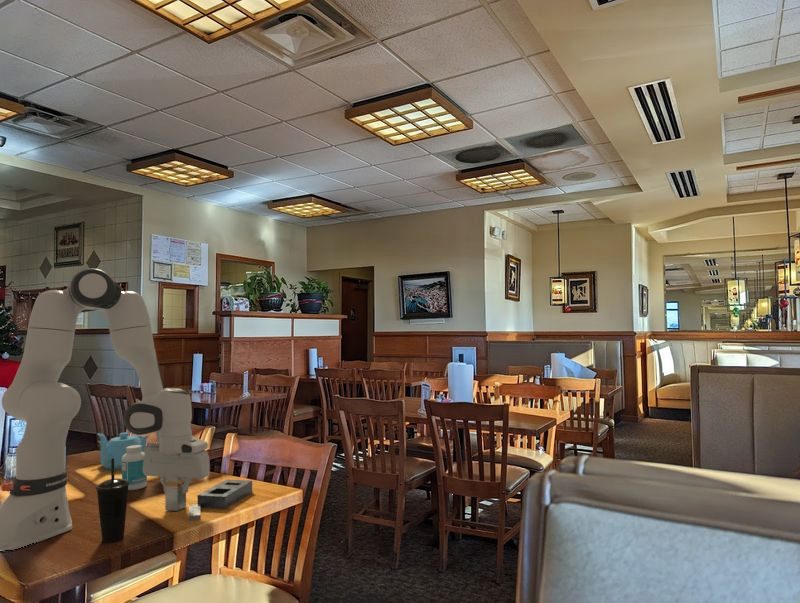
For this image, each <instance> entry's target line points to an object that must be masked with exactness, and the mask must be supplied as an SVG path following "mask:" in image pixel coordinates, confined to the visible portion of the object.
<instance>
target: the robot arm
mask: <svg viewBox="0 0 800 603" xmlns="http://www.w3.org/2000/svg"><path fill="white" fill-rule="evenodd" d="M94 311H95V312H96V311H101V312H102V313H104V314H105V316H106V319H107V323H108V330H109V336H110V342H111V345H112V348H113V351H114V353H115V354H116V355H117V356H118V357H119V358H120V359H122V360H124V361H126V362H128V363H129V364H130V365H131V366H132V367H133V368H134V369H135V371H136V373H137V377H138V382H139V386H140V392H141V395H142V398H141V400H140V401H137V402H135V403H132V404H131V405H130V406H128V407H127V408H126V410H125V411H124V414H123V418H122V419H123V425H124V427H125V429H126V430H127V431H128V433H131V434H133V435H134V436H136V435H140V436H144V435H145V436H146V435H148V434H151V433H156V432H159V442H157V443H154V442H152V443H151V442H150V443H148V444H146V447H145V456H144V461H143V473H144V475H145V476H147V477H158V476H159V477H158V478H159V481H160V483H161V485H162V486H163V493H165V475H177V476H178V478H183V481H184V482H185V483H184V485H183V486H182V487H180V493H186V494H187V493H188V492H189V485H190V484H191V482H192V479H193V480H194V479H196V480H203V479H205V478H206V477H207V476H209V474H210V470H211V469H210V464H211V463H210V455H209V453H208V451H207V449H208V442H207V441H206V440H203V439H201V438H198V437H196V436H193V431H192V427H191V423H192V420H193V408H192V399H191V395H190V393H189V392H188V391H187V390H185V389H182V388H177V387H166V388H165V386H164V381H163V377H162V373H161V368H160V364H159V359H158V357H157V353H156V348H155V343H154V336H153V330H152V324H151V319H150V314H149V311H148V307H147V305H146V303H145V299H144V297H143V296H142V295H141V294H140V293H138V292H136V291H132V290H124V291H122V288H121V287H120V285H118V284H117V282H116V281H115V280H114V279H113V277H112V276H110V275H109V273H107V272H106V271H103V270H102V269H99V268H92V267H91V268H86V269H82V270H80V271H79V272H77V273H76V274H75V275H74V276H73V278H72V279H71V281H70V284H69V286H68V287H67V288H66V289H63V290H58V289H50V290H45V291H43V292H40V294H38V295H37V297H36V299H35V301H34V304H33V307H32V310H31V313H30V316H29V320H28V325H27V329H26V330H27V332H26V337H25V344H24V349H23V353H22V354H23V355H22V359H21V362H20V364H19V367H18V369H17V371H16V374H15V376H14V378H13V381H12V383H10V385H9V387H8V388H7V389H6V390H5V391H4V393H3V395H2V397H1V406H2V408H3V410H4V412H5V413H6V414H8V415H9V416H10V417H12V418H14V419H16V420H18V421H22V422H23V421H24V422H25V429H24V434H23V437H22V439H21V441H20V443H18V445H17V447H16V448H15V477H14V479H13V482H12V483H11V482H9V483H7V482H3V483H2V484H1V485H0V490H1V492H9V495H8V496H7V498H5V499H4V500H3V502H2V503H1V504H0V550H12V549H18V548H21V547H23V548H25V547H24V546H26V547H28V546H27V545H29V544H31V545H33V544H32V543H34V544H36V542H37V543H39V542H43V541H45V540H47V539H49V538H53V537H56V536H58V535H60V534H63V533H66V532H69V531H72V530H73V519H72V517H71V512H70V506H69V501H68V495H67V489H66V485H67V484H68V473H67V472H68V471H67V469H66V444H67V438H68V433H69V429H70V427H71V423H72V421H73V419H74V418H75V417H76V416H77V414H78V413H79V411H80V409H81V406H82V399H81V396H80V394H79V392H78V390H77V389H75V388H74V387H72V386H69V385H68V384H65V383H63V382H58V381H59V379H60V377H61V374H62V372H63V370H65V367H66V366H67V365H69V363H70V362H71V359H72V355H73V347H74V342H75V341H74V340H75V332H76V328H77V327H76V326H77V320H78V317H79V314H81V313H86V312H88V313H89V312H94ZM29 546H30V545H29ZM21 549H22V548H21ZM18 550H19V549H18Z"/></svg>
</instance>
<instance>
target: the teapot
mask: <svg viewBox="0 0 800 603" xmlns="http://www.w3.org/2000/svg"><path fill="white" fill-rule="evenodd" d="M97 436H99V438H100V440H97V442H98V443H99V445H100V453H99V457H100V465H102V467H103V468H104V469H105V470H111V459H114V471H115V470H117V471H119V470H122V456H123V455H125V454H126V453H127V452H126V447H128V446H133V445H141V446H142V450H141V452H144V453H145V447H146V446H147V440H148V438H149V435H145V436H143V435H129V432H120V433H119V436H116V437H112V438H110V439H109V441H108V440H107V437H106V436H105V434H103V433H99V432H98V433H97Z"/></svg>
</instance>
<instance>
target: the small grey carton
mask: <svg viewBox="0 0 800 603" xmlns="http://www.w3.org/2000/svg"><path fill="white" fill-rule="evenodd" d="M184 483H185V482H184V481H183V478H178V476H177V475H165V492H164V496H165V498H164V500H165V505H164V507H165V511H169V512H170V511H172V512H173V511H174V512H179V511H181V510H182V509H185V508H186V507H187V493H180V487H182V486H183V485H184Z"/></svg>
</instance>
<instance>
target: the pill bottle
mask: <svg viewBox="0 0 800 603" xmlns="http://www.w3.org/2000/svg"><path fill="white" fill-rule="evenodd" d="M141 450H142V446H141V445H133V446H128V447H126V452H127V453H126V454H125V455H123V456H122V469H121V479H123V480H127V481H129V482H130V484H129V486H128V491H135V490H140V489H143V488H145V487H146V486H147V485H148V479H147V478H148V476H145V475H144V473H143V461H144V456H145V453H144V452H141Z"/></svg>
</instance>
